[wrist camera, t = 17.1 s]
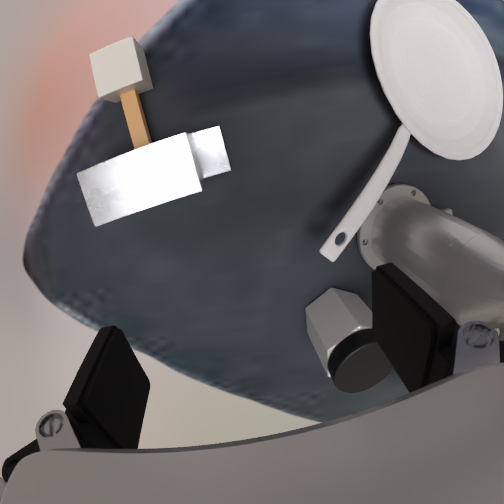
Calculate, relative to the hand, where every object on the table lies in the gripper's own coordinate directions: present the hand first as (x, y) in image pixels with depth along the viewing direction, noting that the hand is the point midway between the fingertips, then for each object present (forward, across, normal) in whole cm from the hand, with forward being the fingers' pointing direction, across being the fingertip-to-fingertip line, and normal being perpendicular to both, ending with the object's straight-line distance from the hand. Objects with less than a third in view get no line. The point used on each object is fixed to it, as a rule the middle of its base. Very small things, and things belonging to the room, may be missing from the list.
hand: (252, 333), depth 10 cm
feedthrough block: (+24, +8, -5) cm, 26 cm away
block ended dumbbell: (+24, +8, -11) cm, 28 cm away
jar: (+26, -10, +19) cm, 34 cm away
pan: (+26, -25, -7) cm, 37 cm away
